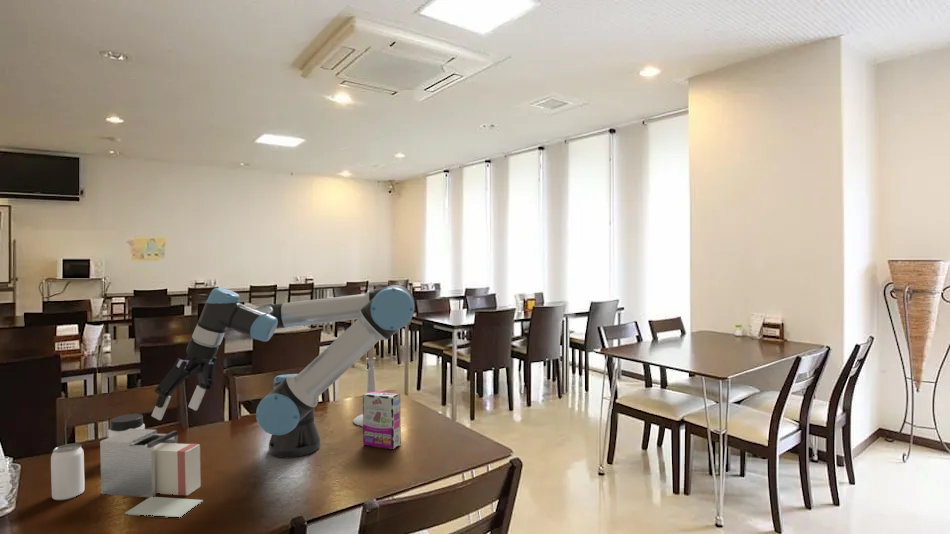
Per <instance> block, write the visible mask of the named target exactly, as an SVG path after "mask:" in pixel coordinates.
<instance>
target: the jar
mask: <svg viewBox="0 0 950 534" xmlns="http://www.w3.org/2000/svg"><path fill="white" fill-rule="evenodd" d="M128 429H146V425H145V423H144V416H143V415H142V414H140V413H130V414H129V413H128V414H122V415H118V416H114V417H112V418H111V419H110V420H109V429H108V430H107V436H108V437H107V438H109V437H111V436H114V435H116V434H118V433H121V432H123V431H125V430H128Z"/></svg>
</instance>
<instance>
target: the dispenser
mask: <svg viewBox="0 0 950 534" xmlns="http://www.w3.org/2000/svg"><path fill="white" fill-rule="evenodd" d="M178 433H179V432H178V430H172V431H170V432H168V433H158V430H157V429H148V428H147V429H146V428H145V429H128V430H125V431H123V432H121V433H118V434H116V435H114V436H111V437H109V438H108V437H107V438H105V439H102V440H100V441H99V446H100V447H99V449H100V450H99V452H100V455H99V456H100V488H101V491H100V493H101V495H104V494H107V496H118V497H119V496H120V497H121V496H122V497H123V496H124V497H137V498H138V497H139V498H149V497H153V496H154V497H156V493H155V445H157V444H159V443H178V444H179V435H178ZM146 444H147V446H145V445H146Z"/></svg>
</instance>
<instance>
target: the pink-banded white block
mask: <svg viewBox="0 0 950 534" xmlns="http://www.w3.org/2000/svg"><path fill="white" fill-rule="evenodd" d="M145 446H147V444H146V445H145ZM201 483H202V481H201V445H200V444H198V443H179V442H178V443H159V444H157V445H155V494H157V493H160V494H159V495H172V494H173V495H174V496H189V495H190V494H192V493H193V492H195V491H196V490H198V489H199V488H201V486H202V484H201Z"/></svg>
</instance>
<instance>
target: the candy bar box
mask: <svg viewBox="0 0 950 534" xmlns="http://www.w3.org/2000/svg"><path fill="white" fill-rule="evenodd" d="M362 414H363V427H362V428H363V429H362V430H363V431H362V433H363V434H362V435H363V437H362V439H363V443H362V445H363V446H364V445H367V446H366V447H369V446H373V447H372V448H376V447H379V448H378V449H383V448H387V449H386V450H389V449H394V448H395V449H397V448H398V447H397V446H399V445H400V444H402V443H401V442H402V440H401V439H402V438H401V437H402V436H401V435H402V434H401V393H393V392H386V391H384V392H383V391H382V392H381V391H376V390H375V391H370V392H368V393H367V392H366V393H365V392H364V393H363V394H362ZM400 446H401V445H400ZM400 446H399V447H400ZM396 447H397V448H396ZM395 449H394V450H395Z"/></svg>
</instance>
